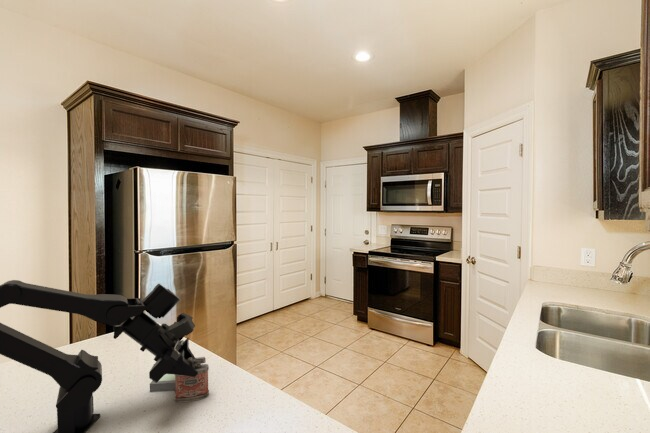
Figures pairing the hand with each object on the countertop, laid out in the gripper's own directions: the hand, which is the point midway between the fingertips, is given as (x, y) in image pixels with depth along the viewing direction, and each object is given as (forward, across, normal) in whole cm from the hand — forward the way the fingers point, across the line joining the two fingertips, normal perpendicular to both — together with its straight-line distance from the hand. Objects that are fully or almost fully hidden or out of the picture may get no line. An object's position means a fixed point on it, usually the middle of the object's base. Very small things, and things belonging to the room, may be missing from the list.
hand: (197, 370), depth 78 cm
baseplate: (0, +10, +10) cm, 14 cm away
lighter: (+4, 0, +6) cm, 7 cm away
